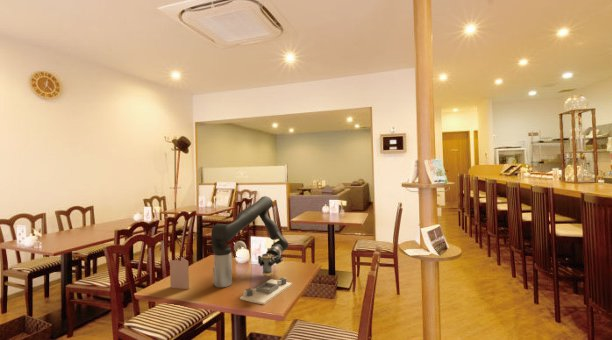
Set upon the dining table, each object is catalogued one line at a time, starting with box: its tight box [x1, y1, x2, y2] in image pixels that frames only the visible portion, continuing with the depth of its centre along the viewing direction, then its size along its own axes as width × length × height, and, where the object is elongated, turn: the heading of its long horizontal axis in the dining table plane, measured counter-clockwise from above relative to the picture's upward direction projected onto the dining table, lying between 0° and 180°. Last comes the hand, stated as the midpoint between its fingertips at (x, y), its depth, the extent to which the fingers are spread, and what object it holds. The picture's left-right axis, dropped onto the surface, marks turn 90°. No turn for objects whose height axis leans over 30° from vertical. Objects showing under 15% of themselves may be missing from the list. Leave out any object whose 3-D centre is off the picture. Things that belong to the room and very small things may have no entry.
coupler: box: [261, 253, 273, 277], centre depth 154 cm, size 5×5×10 cm
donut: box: [233, 240, 247, 253], centre depth 224 cm, size 10×4×10 cm, turn 71°
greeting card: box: [169, 256, 190, 290], centre depth 163 cm, size 11×7×15 cm, turn 41°
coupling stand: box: [239, 277, 293, 306], centre depth 154 cm, size 14×26×4 cm, turn 152°
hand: (265, 264), depth 152 cm, fingers closed on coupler, 4 cm apart
